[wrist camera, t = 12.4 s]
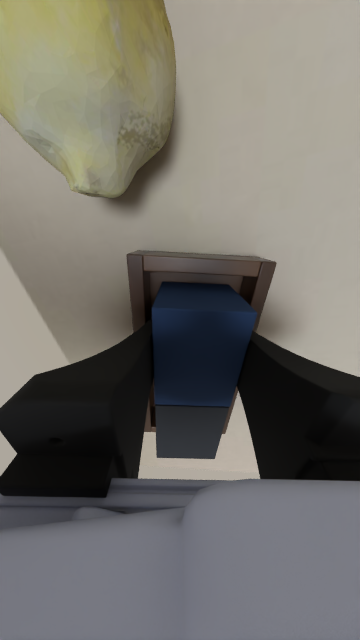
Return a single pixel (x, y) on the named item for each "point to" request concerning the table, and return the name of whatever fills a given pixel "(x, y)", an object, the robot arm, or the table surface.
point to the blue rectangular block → (199, 343)
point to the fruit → (89, 85)
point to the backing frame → (158, 267)
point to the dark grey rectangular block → (189, 430)
